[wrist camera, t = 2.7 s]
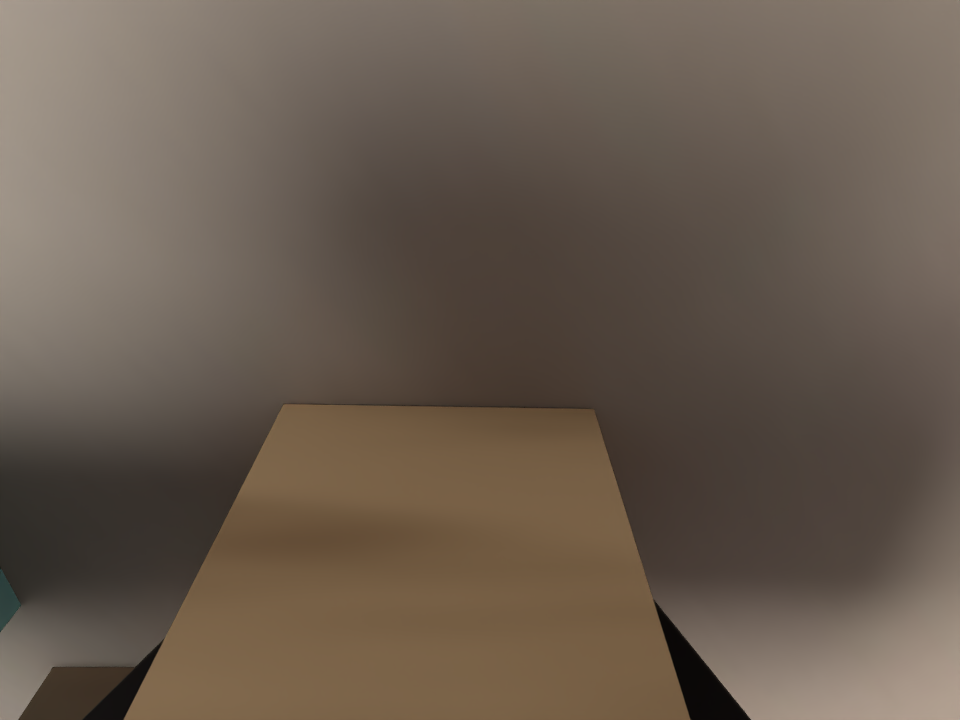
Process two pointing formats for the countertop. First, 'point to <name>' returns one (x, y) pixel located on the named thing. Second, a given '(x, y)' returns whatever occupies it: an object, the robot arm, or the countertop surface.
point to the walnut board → (73, 692)
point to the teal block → (7, 601)
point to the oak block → (420, 578)
